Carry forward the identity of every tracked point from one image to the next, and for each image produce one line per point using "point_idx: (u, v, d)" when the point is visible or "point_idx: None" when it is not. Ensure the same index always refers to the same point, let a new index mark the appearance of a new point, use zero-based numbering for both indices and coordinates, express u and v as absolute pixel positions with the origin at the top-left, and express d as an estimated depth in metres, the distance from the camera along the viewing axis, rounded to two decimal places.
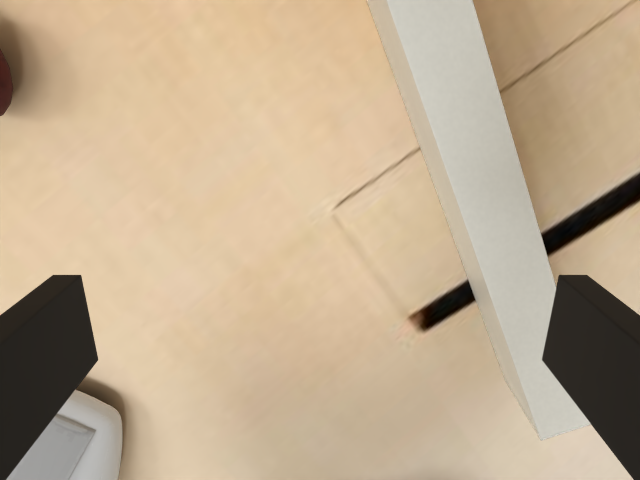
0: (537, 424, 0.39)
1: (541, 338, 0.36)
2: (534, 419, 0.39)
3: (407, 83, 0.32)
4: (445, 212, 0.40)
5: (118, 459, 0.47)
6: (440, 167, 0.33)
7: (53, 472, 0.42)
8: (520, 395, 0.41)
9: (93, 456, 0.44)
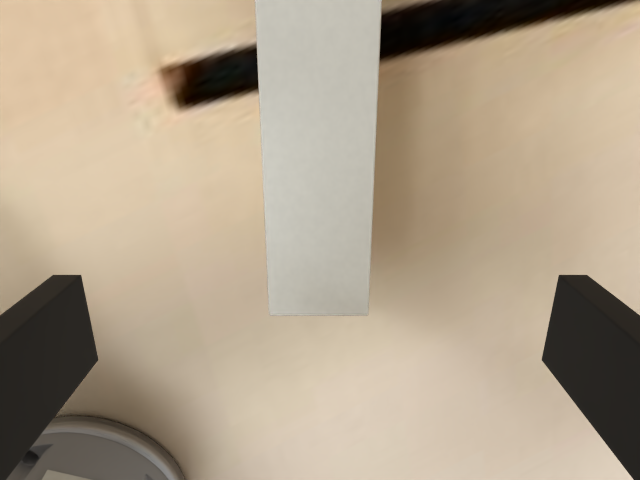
0: (271, 281, 0.21)
1: (323, 95, 0.18)
2: (268, 268, 0.21)
3: None
4: None
5: None
6: None
7: None
8: None
9: None
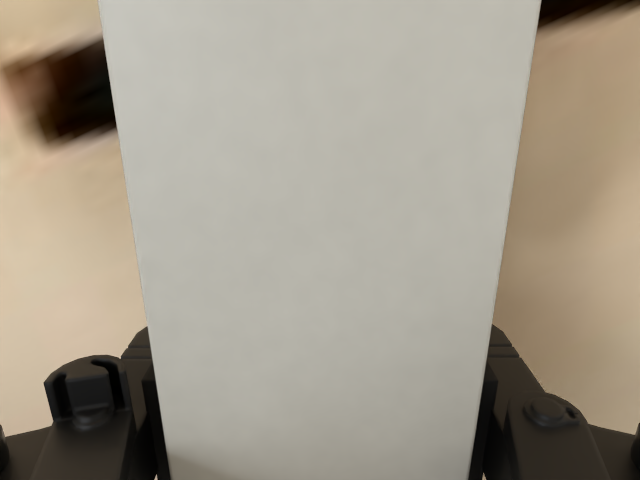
0: None
1: (334, 153, 0.05)
2: None
3: None
4: None
5: None
6: None
7: None
8: None
9: None
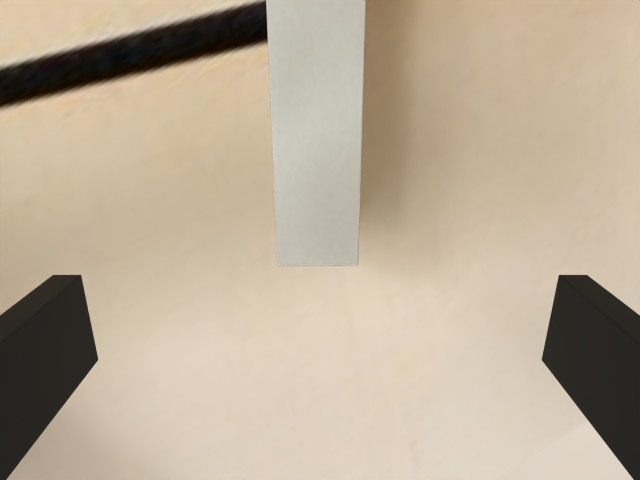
0: (278, 237, 0.26)
1: (320, 84, 0.23)
2: (276, 225, 0.26)
3: None
4: None
5: None
6: None
7: None
8: None
9: None
